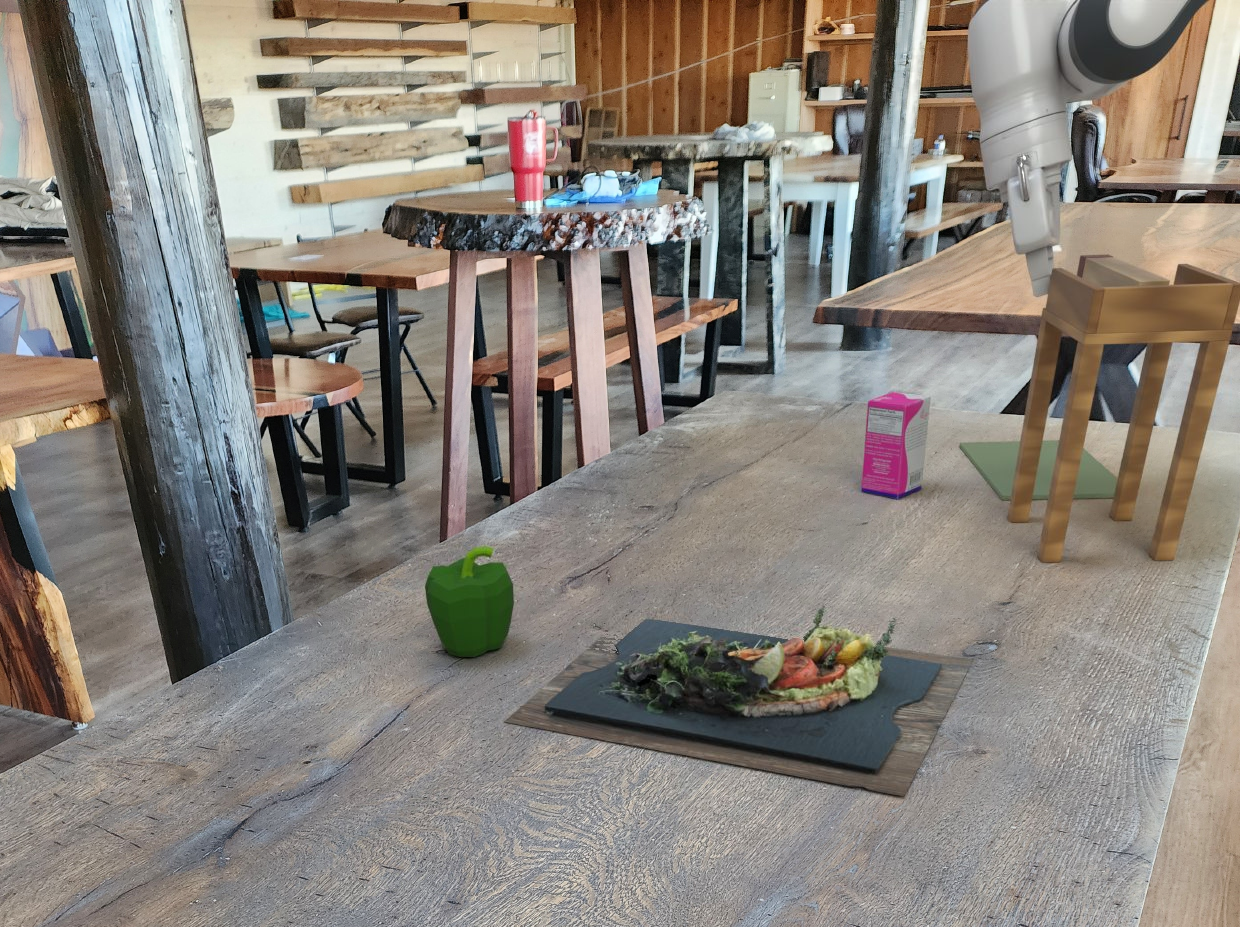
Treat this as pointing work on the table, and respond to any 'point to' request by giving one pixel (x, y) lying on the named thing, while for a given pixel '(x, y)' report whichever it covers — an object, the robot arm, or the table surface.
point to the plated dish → (759, 700)
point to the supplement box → (895, 444)
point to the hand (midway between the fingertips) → (1045, 293)
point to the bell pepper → (470, 604)
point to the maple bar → (1115, 272)
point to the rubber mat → (1001, 463)
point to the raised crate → (1128, 317)
